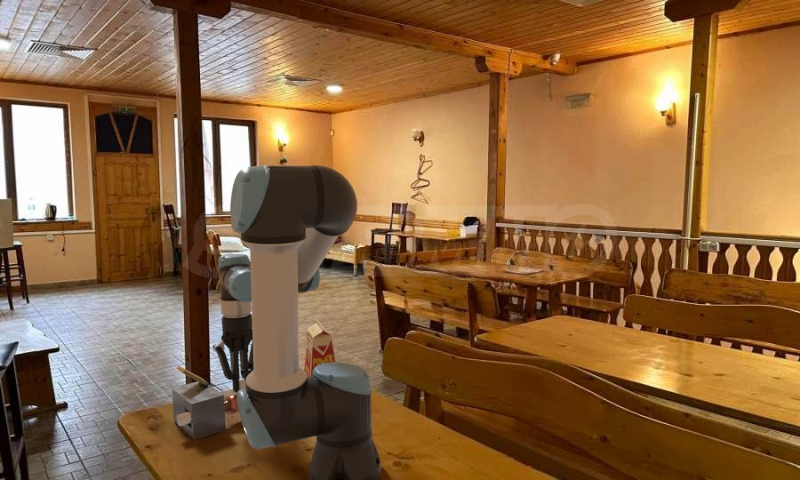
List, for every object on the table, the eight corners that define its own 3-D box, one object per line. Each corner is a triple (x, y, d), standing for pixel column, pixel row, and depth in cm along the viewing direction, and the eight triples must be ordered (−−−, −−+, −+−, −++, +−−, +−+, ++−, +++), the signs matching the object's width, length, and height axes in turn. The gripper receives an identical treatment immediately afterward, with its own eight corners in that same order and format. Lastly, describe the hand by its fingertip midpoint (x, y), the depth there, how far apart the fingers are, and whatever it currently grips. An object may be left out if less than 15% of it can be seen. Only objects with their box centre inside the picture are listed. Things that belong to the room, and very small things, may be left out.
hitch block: (226, 429, 138) (224, 395, 137) (194, 439, 133) (191, 404, 132) (204, 412, 149) (202, 380, 148) (174, 421, 144) (171, 388, 143)
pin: (243, 413, 142) (242, 396, 142) (182, 432, 132) (181, 414, 132) (235, 408, 146) (234, 391, 145) (175, 426, 135) (174, 408, 135)
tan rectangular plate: (207, 386, 143) (209, 383, 144) (182, 373, 139) (185, 370, 139) (200, 381, 147) (202, 378, 147) (175, 368, 143) (178, 365, 143)
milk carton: (302, 382, 169) (299, 319, 167) (330, 377, 173) (328, 315, 171) (310, 392, 161) (307, 326, 159) (340, 387, 165) (337, 322, 163)
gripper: (253, 307, 148) (258, 391, 151) (206, 316, 140) (211, 405, 143) (266, 312, 143) (271, 399, 145) (217, 321, 134) (223, 414, 137)
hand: (241, 402), depth 144 cm, fingers closed
